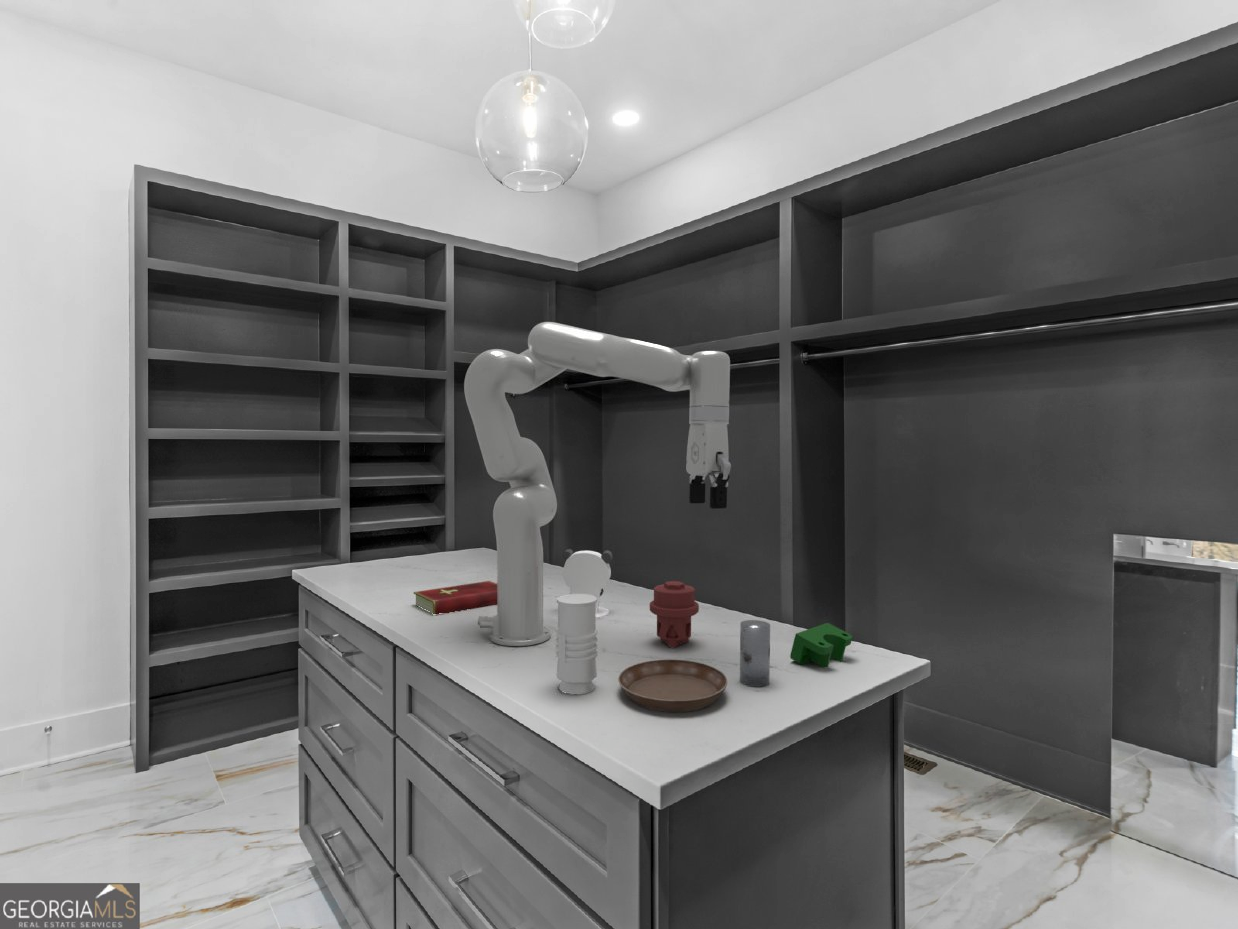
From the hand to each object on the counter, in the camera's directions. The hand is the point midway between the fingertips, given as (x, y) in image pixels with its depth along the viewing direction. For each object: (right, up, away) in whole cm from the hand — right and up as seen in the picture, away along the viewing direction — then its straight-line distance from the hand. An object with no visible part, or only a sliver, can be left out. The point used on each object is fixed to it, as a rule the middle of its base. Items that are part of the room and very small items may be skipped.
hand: (707, 505), depth 125 cm
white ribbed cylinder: (-24, -30, -17) cm, 42 cm away
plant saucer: (-8, -30, -19) cm, 37 cm away
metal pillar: (+6, -29, -14) cm, 33 cm away
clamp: (+21, -29, -3) cm, 36 cm away
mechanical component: (-6, -29, +8) cm, 30 cm away
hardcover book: (-56, -28, +38) cm, 74 cm away
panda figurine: (-25, -28, +30) cm, 48 cm away
